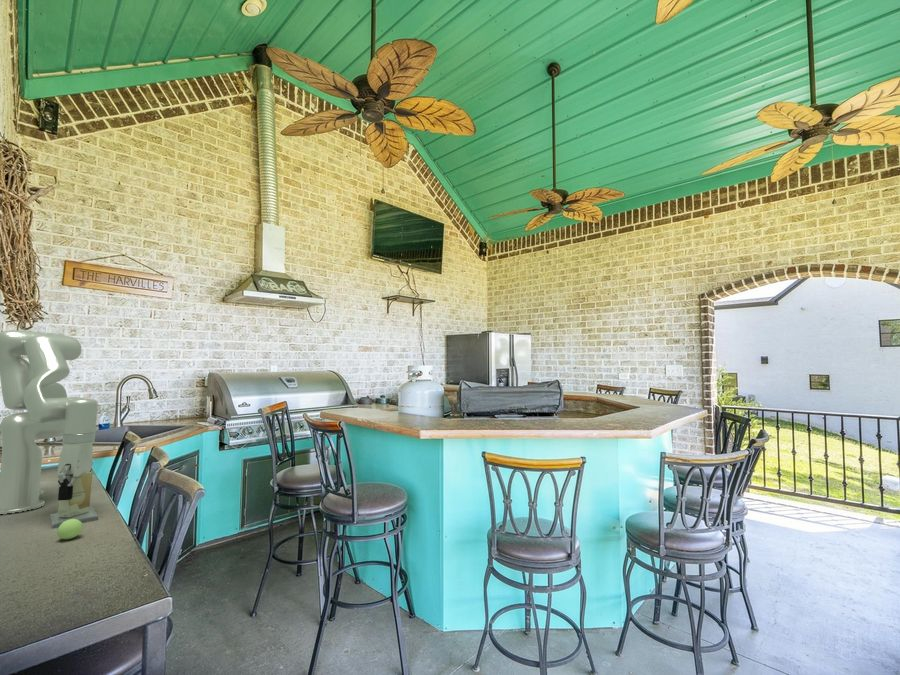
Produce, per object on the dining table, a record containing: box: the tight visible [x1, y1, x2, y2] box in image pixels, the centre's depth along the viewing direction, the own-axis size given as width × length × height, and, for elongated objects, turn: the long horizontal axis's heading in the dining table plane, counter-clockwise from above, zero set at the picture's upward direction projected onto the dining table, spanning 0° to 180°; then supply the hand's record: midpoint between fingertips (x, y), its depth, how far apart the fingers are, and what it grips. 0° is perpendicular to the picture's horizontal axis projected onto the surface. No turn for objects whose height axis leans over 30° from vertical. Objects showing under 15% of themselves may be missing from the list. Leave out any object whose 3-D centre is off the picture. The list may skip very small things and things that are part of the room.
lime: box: [56, 519, 84, 541], centre depth 111 cm, size 5×5×5 cm
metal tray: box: [49, 506, 99, 529], centre depth 128 cm, size 14×10×1 cm
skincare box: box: [57, 471, 94, 518], centre depth 129 cm, size 6×4×12 cm
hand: (73, 495), depth 129 cm, fingers open, 9 cm apart
